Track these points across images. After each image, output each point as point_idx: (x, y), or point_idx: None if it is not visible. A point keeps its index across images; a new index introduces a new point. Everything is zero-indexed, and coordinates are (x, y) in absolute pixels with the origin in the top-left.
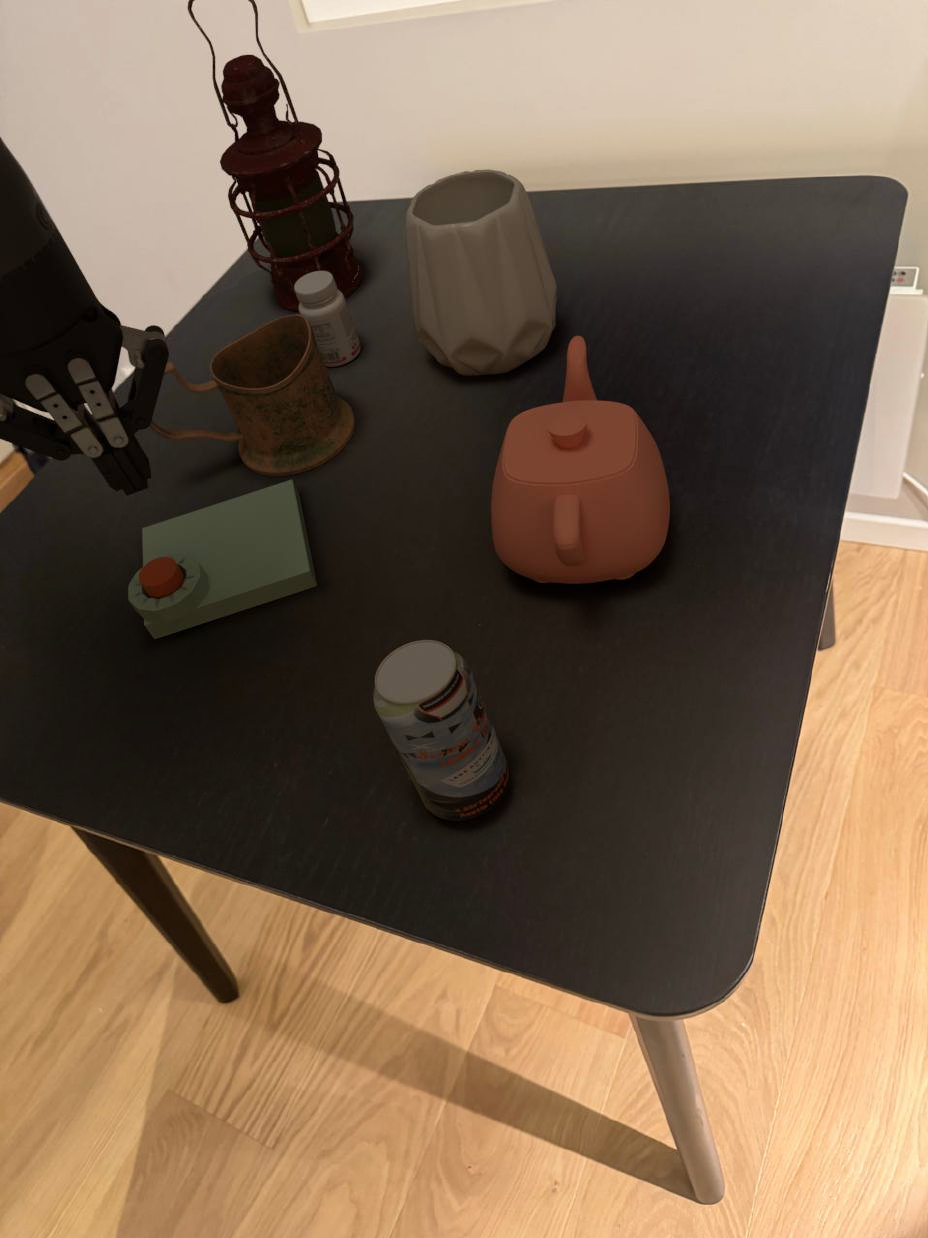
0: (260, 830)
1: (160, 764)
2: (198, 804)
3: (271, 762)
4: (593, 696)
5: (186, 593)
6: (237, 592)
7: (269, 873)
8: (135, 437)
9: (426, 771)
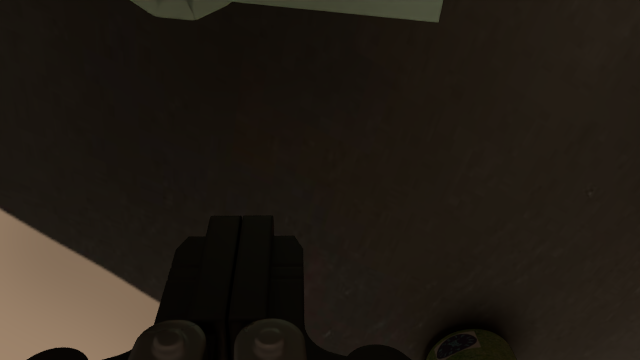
0: None
1: (148, 208)
2: None
3: None
4: (624, 318)
5: (219, 5)
6: (305, 5)
7: None
8: (303, 307)
9: None
